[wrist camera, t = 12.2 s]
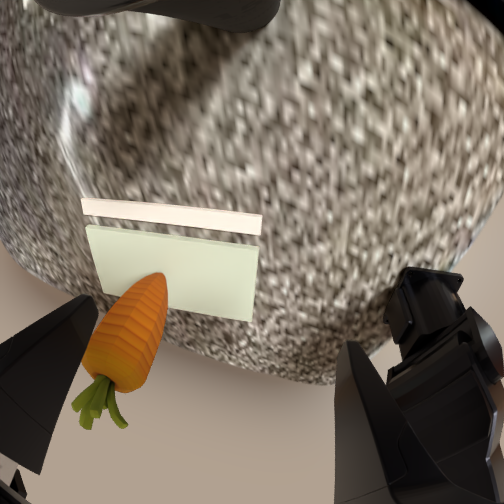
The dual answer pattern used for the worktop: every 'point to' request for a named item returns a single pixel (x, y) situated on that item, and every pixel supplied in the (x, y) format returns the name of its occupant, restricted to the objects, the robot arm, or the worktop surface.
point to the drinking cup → (177, 10)
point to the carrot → (123, 348)
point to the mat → (179, 269)
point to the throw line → (174, 215)
